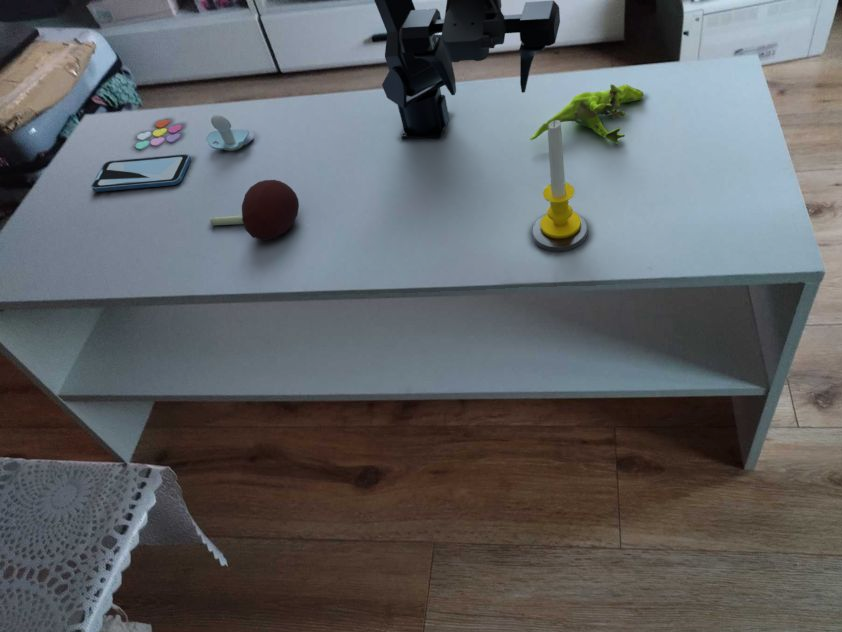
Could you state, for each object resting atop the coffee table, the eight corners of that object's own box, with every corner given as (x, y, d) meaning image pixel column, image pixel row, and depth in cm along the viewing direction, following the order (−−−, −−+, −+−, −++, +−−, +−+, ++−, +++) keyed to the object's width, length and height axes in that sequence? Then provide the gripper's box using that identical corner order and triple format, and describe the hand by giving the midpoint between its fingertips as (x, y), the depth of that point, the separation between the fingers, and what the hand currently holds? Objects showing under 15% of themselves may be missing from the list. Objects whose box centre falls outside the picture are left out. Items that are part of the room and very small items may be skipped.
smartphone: (177, 181, 110) (88, 189, 112) (180, 186, 111) (92, 193, 113) (190, 153, 115) (105, 160, 117) (193, 158, 116) (108, 165, 117)
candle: (541, 241, 89) (532, 135, 77) (538, 214, 93) (529, 109, 81) (583, 236, 89) (580, 129, 77) (578, 209, 92) (575, 103, 80)
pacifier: (223, 134, 119) (207, 154, 115) (208, 100, 114) (191, 120, 110) (262, 133, 117) (247, 154, 113) (248, 99, 112) (232, 120, 109)
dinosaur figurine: (581, 175, 98) (580, 137, 93) (528, 150, 103) (524, 113, 98) (670, 107, 104) (673, 68, 100) (616, 87, 110) (616, 49, 105)
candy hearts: (134, 151, 120) (133, 150, 119) (140, 126, 125) (139, 125, 124) (179, 141, 119) (179, 140, 119) (184, 116, 125) (183, 115, 124)
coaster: (529, 251, 90) (528, 246, 89) (536, 214, 94) (536, 210, 93) (584, 252, 88) (584, 248, 87) (589, 215, 92) (589, 211, 92)
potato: (300, 215, 104) (315, 202, 99) (261, 255, 100) (275, 243, 95) (261, 177, 101) (275, 161, 96) (220, 216, 97) (232, 202, 92)
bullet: (215, 221, 103) (265, 218, 102) (213, 227, 103) (263, 224, 101) (211, 215, 102) (261, 212, 101) (209, 221, 102) (259, 218, 100)
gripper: (371, 4, 76) (404, 130, 88) (543, -8, 71) (553, 126, 83) (398, -40, 83) (424, 82, 94) (556, -54, 78) (563, 76, 90)
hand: (488, 92), depth 90 cm, fingers open, 9 cm apart
